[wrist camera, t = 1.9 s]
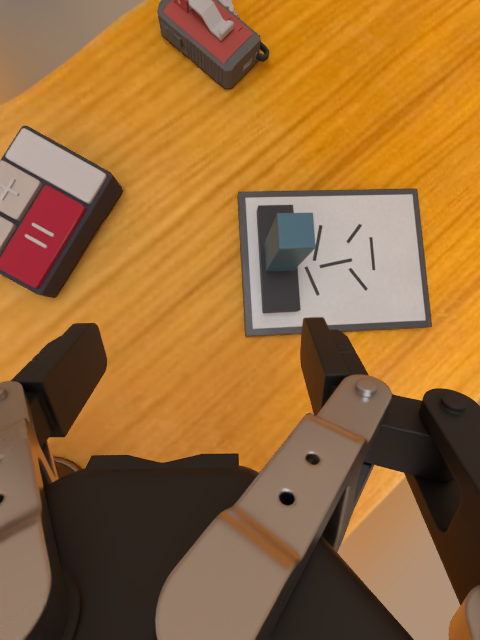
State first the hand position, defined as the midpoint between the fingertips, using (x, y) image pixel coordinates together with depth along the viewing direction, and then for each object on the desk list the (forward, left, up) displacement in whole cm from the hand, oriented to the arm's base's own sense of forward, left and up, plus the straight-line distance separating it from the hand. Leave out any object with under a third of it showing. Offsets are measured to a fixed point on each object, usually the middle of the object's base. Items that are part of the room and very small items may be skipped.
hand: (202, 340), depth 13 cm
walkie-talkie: (+40, 0, -25) cm, 47 cm away
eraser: (+9, -8, -23) cm, 26 cm away
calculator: (+15, +18, -24) cm, 34 cm away
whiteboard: (+9, -15, -24) cm, 30 cm away
